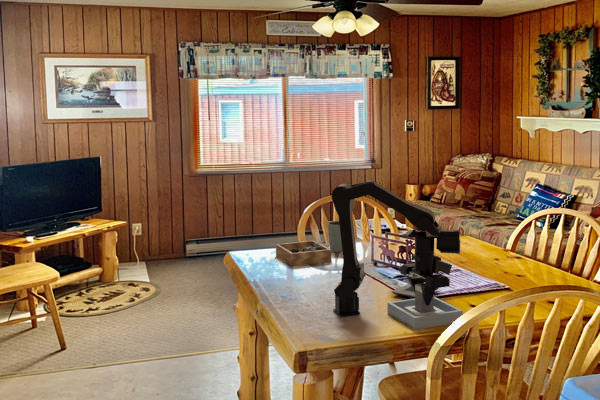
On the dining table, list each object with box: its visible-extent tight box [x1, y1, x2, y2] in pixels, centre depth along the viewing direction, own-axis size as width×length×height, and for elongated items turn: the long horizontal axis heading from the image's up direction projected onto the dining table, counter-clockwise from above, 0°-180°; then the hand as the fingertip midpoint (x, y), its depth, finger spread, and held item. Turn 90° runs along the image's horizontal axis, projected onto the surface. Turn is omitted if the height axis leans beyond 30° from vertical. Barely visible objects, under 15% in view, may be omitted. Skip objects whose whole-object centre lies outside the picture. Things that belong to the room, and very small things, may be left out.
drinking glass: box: [327, 220, 343, 253], centre depth 291 cm, size 10×10×12 cm
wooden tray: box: [275, 240, 333, 267], centre depth 277 cm, size 17×19×5 cm
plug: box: [414, 283, 435, 311], centre depth 201 cm, size 4×4×7 cm
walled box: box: [387, 296, 464, 331], centre depth 202 cm, size 16×16×4 cm
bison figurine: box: [290, 242, 323, 253], centre depth 275 cm, size 12×7×10 cm
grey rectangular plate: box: [390, 283, 440, 299], centre depth 226 cm, size 13×10×2 cm
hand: (423, 303), depth 202 cm, fingers closed on plug, 4 cm apart
